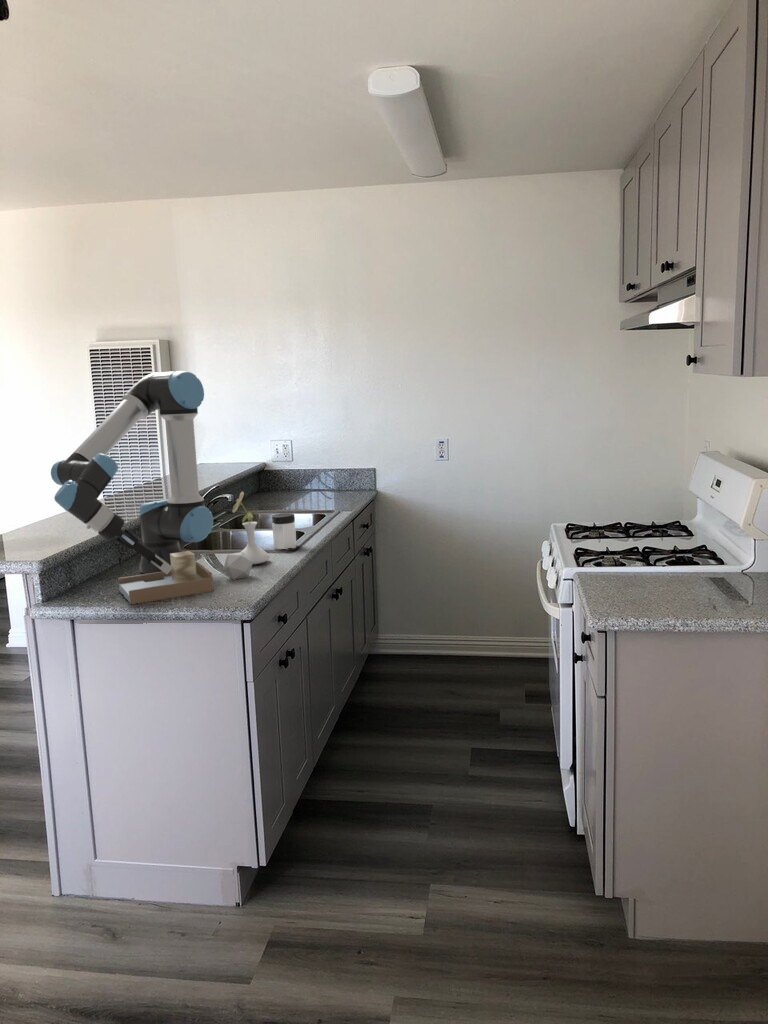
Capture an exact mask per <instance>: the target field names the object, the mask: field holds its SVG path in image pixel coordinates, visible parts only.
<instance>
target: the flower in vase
mask: <svg viewBox="0 0 768 1024" xmlns="http://www.w3.org/2000/svg"><path fill="white" fill-rule="evenodd" d="M244 495H245V493H244V491H241V492H240V493H239V496H238V498H237V499H236V500H235V502H236V503H234V505H233V507H232V508H233V509H232V510H231V512H232V513H233V514H234V513H235V512H237V510H238V508H239V507H240V506H242V508H243V509H244V511H245V513H246V514H245V515H244V516H243V517H242V521H241V523H242V525H243V527H244V528H245V532H246V536H247V545H246V546H245V547H244V548H243V549H242V550H241V551H240V552H243V553H244V554H245V555H246V556H247V557H248V558H249V559H250V560H251V561H252V562H253V564H252V566H253V565H259V564H262V563H266V562H267V561H268V560H269V559H270V555H269V553H267V552H266V551H265V550H264V549H262V548H261V547H260V546H258V545H257V543H256V541H255V530H256V527H257V524H258V522H257V521H251V520H252V519H253V518H254V515H253V514H252V511H250V510H249V511H247V508H245V506H244V504H243V503H242V502H243V501H242V500H243V497H244ZM246 520H248V521H246ZM245 521H246V522H245Z"/></svg>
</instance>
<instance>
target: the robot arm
mask: <svg viewBox="0 0 768 1024" xmlns="http://www.w3.org/2000/svg"><path fill="white" fill-rule="evenodd" d="M204 399H205V390H204V386H203V384H202V381H201V379H199V378H198V377H197V376H196V374H194V373H192V372H191V371H187V370H186V371H184V370H173V371H163V372H162V371H157V372H156V371H155V372H152V373H149V374H147V375H145V376H144V377H142V378H140V379H139V381H137V382H136V383H134V384H133V386H131V387H130V388H129V389H127V391H126V392H125V393H124V395H122V397H121V402H120V403H119V404H118V405H117V406H116V408H115V409H114V410H113V411H112V412H111V413H110V414H109V415H108V416H107V417H106V418H105V419H104V420H103V421H102V422H101V423H100V424H99V425H98V426H97V427H96V428H95V429H94V431H92V433H91V434H89V435H88V437H86V439H85V440H84V441H83V442H82V443H81V444H80V445H79V446H78V447H77V448H76V449H75V450H74V451H73V452H72V453H71V454H70V455H69V456H68V458H66V460H59V461H56V462H55V463H54V464H53V465H52V466H51V468H50V476H51V479H52V480H53V482H54V483H55V484H56V485H59V486H61V487H60V488H59V489H58V490H57V491H56V493H55V494H54V501H55V502H56V504H58V505H59V506H60V507H61V508H62V509H63V510H64V511H66V512H67V513H69V514H71V515H73V516H74V517H75V518H77V520H80V522H82V523H83V524H85V526H86V529H87V530H89V529H91V530H93V531H94V532H96V533H97V532H98V535H99V536H100V537H102V538H103V539H105V540H106V541H111V540H112V539H114V537H117V538H116V540H117V542H119V543H121V544H122V545H125V546H126V547H127V548H128V549H131V550H132V549H133V550H134V551H135V552H137V553H138V554H139V555H141V558H140V562H139V572H140V573H142V574H149V573H156V572H164V573H166V574H168V573H169V572H170V571H171V569H172V568H173V567H172V566H171V560H170V554H171V553H178V552H183V551H182V548H181V545H180V542H185V543H199V542H202V541H203V540H205V539H206V538H207V537H208V535H209V534H210V533H211V532H212V529H213V524H214V516H213V513H212V511H210V509H209V508H208V507H207V506H205V498H204V497H203V496H202V495H200V491H199V490H200V489H199V480H198V479H199V478H198V477H199V476H198V465H197V464H198V463H197V452H196V439H195V438H196V437H195V424H194V422H195V421H194V419H195V418H196V417H197V415H198V414H199V412H198V410H199V409H198V408H199V407H200V406H201V405H202V404H203V402H204ZM155 411H159V416H160V417H162V419H163V420H164V421H165V430H166V440H167V441H166V443H167V444H166V445H167V457H168V468H169V469H168V470H169V471H168V472H169V481H170V492H171V493H170V494H171V495H170V497H169V498H168V499H162V500H155V501H150V502H145V503H142V504H140V506H139V522H140V531H141V539H142V541H141V542H142V543H141V542H139V539H138V538H137V537H135V536H134V535H133V534H132V532H131V531H130V530H128V529H126V528H125V529H124V530H123V529H122V528H123V527H124V525H125V519H124V518H122V517H121V516H120V515H118V514H117V513H114V511H113V510H112V509H111V508H109V507H108V505H107V506H106V504H104V503H102V502H101V501H100V500H99V499H98V498H99V497H100V495H101V494H102V493H103V491H104V490H105V489H106V488H107V486H108V485H109V484H110V483H111V481H112V480H113V479H114V476H115V475H116V474H117V472H118V469H119V465H118V463H117V462H116V461H115V460H114V459H113V458H112V457H110V456H109V455H108V454H109V453H110V452H111V450H113V449H114V448H115V447H116V445H117V444H118V443H120V442H121V440H122V439H123V438H124V437H125V436H126V435H127V433H129V432H130V431H131V430H132V429H133V427H134V426H135V425H136V424H137V423H138V422H139V421H140V420H141V419H146V418H148V416H149V415H150V414H151V413H152V412H155Z"/></svg>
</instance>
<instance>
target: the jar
mask: <svg viewBox="0 0 768 1024" xmlns="http://www.w3.org/2000/svg"><path fill="white" fill-rule="evenodd" d="M295 519H296V518H295V513H292V512H284V513H283V512H281V513H276V514H272V515H271V522H272V524H271V525H272V537H273V538H272V539H273V549H274V550H281V549H286V548H289V547H290V548H292V549H296V548H297V533H296V522H295ZM286 550H287V549H286Z"/></svg>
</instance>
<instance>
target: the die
mask: <svg viewBox="0 0 768 1024" xmlns="http://www.w3.org/2000/svg"><path fill="white" fill-rule="evenodd" d="M252 564H253V562H252V561H251V560H250V559H249V558H248V557H247V556H246V555H245V554H244V553H243V552H241V551H239V552H235V553H234V552H233V553H228V554H227V556H226V559H225V562H224V566H223V568H222V571H224V572H225V573H226V574H227V575H228V576H229V577H230V578H231V579H232V580H233V581H235V580H241V579H246V578H249V576H250V574H251V570H252V566H253V565H252Z"/></svg>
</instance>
